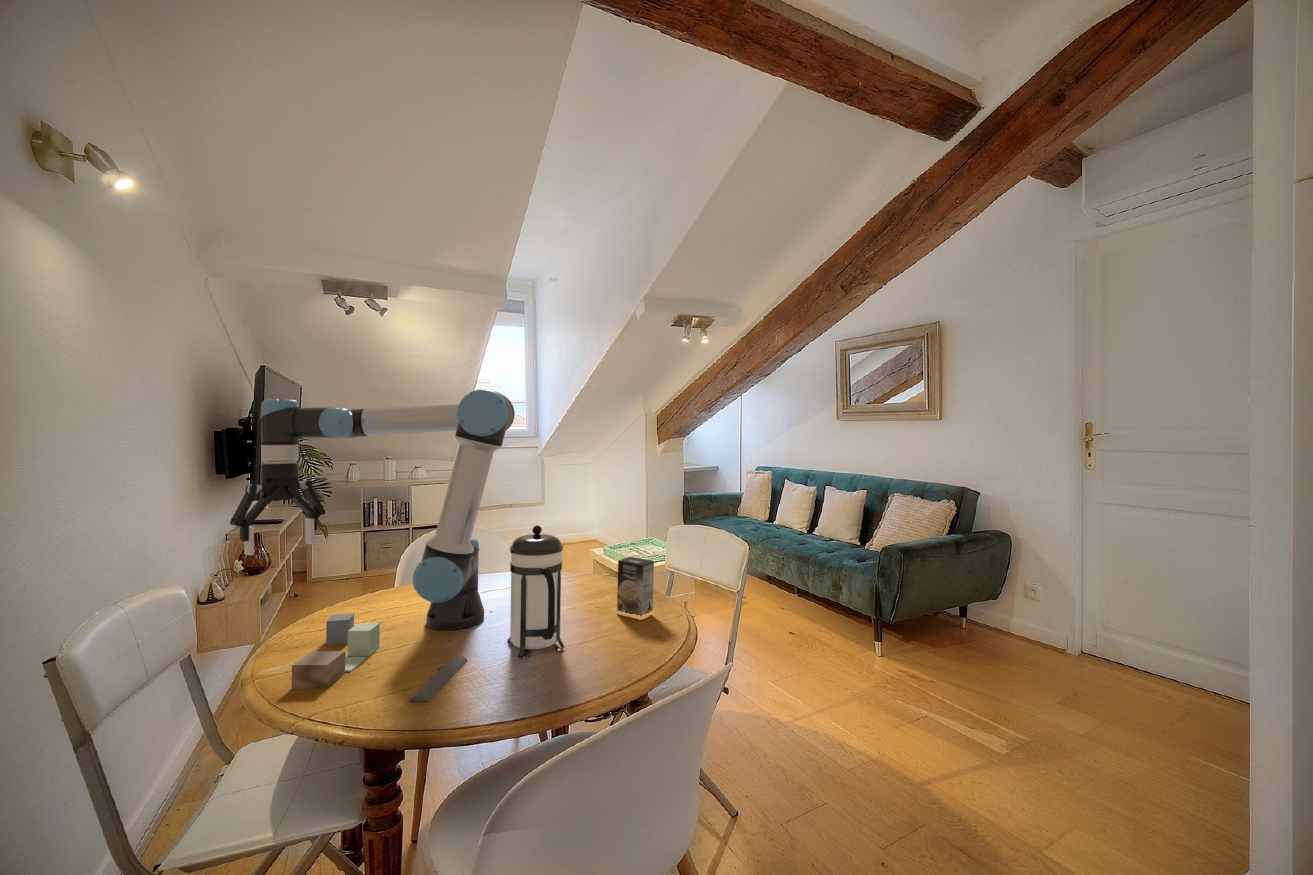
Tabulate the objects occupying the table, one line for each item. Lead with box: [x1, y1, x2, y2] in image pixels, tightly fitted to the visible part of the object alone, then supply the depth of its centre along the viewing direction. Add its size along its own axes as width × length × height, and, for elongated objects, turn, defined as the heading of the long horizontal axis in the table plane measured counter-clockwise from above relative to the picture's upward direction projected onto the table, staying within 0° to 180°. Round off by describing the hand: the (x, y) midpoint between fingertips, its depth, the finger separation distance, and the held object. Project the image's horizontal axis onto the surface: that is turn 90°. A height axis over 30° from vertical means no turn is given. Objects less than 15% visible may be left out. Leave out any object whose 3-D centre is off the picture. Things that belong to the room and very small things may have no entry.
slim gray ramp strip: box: [409, 654, 468, 703], centre depth 114 cm, size 4×20×2 cm, turn 177°
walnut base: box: [291, 650, 346, 690], centre depth 113 cm, size 7×7×5 cm
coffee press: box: [506, 524, 565, 659], centre depth 131 cm, size 17×16×30 cm
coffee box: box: [616, 556, 655, 616], centre depth 157 cm, size 9×6×16 cm
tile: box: [345, 656, 367, 673], centre depth 120 cm, size 7×7×1 cm
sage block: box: [347, 622, 381, 657], centre depth 128 cm, size 5×5×6 cm
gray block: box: [325, 612, 355, 646], centre depth 134 cm, size 5×5×6 cm
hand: (280, 549), depth 132 cm, fingers open, 13 cm apart
